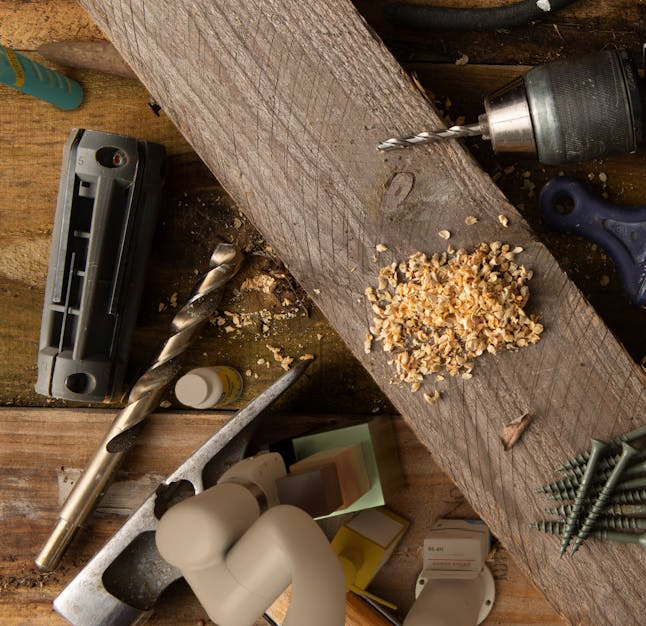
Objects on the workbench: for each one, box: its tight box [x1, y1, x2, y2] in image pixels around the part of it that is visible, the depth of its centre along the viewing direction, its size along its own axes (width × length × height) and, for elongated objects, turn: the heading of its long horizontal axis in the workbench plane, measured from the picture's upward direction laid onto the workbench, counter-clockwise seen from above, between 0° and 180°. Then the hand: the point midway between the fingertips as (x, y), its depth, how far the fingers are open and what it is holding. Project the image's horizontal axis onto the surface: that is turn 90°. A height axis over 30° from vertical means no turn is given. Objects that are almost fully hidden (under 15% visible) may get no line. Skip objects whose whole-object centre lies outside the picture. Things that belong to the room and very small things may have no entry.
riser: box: [290, 443, 371, 512], centre depth 108 cm, size 7×6×12 cm
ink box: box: [420, 518, 491, 579], centre depth 120 cm, size 9×5×15 cm, turn 89°
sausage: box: [37, 40, 140, 81], centre depth 124 cm, size 6×18×6 cm
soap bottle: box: [330, 505, 411, 611], centre depth 115 cm, size 7×13×24 cm, turn 60°
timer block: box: [275, 462, 343, 519], centre depth 99 cm, size 6×6×6 cm
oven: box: [292, 412, 406, 521], centre depth 120 cm, size 11×12×13 cm
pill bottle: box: [174, 365, 244, 410], centre depth 121 cm, size 6×6×11 cm
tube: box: [0, 43, 84, 111], centre depth 117 cm, size 7×5×19 cm, turn 32°
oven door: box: [247, 427, 320, 473], centre depth 121 cm, size 5×12×13 cm, turn 12°
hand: (288, 479), depth 114 cm, fingers closed
